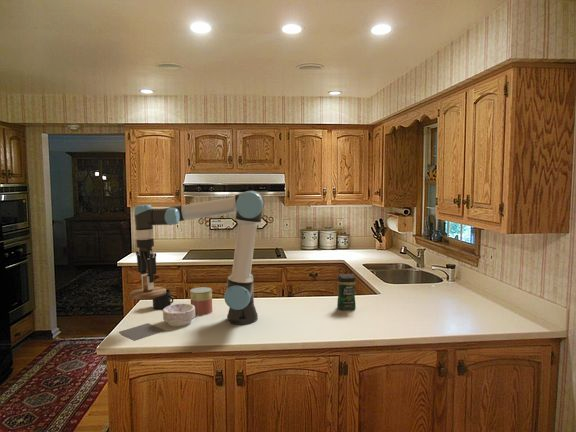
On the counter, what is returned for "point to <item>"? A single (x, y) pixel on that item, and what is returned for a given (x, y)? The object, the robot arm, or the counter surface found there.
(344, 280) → the coffee jar
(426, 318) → the counter surface
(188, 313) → the speckled bowl
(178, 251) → the counter surface
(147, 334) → the mat
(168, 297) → the mug
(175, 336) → the counter surface
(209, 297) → the canned food
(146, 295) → the lid
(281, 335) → the counter surface
